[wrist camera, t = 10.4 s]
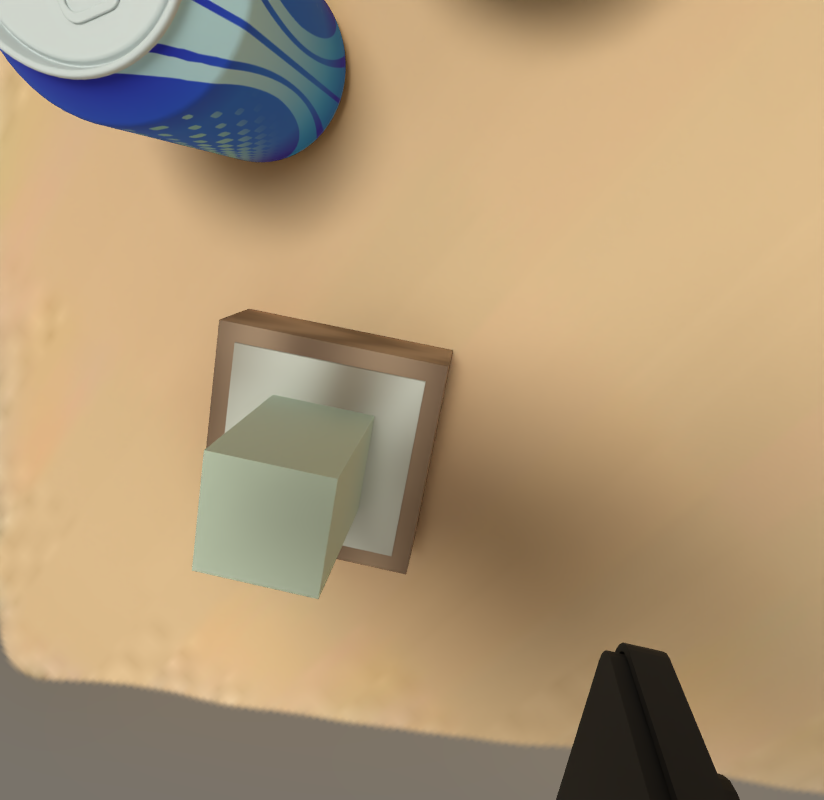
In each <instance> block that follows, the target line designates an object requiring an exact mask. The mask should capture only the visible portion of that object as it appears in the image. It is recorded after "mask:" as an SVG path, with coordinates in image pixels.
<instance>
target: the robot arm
mask: <svg viewBox="0 0 824 800" xmlns="http://www.w3.org/2000/svg"><path fill="white" fill-rule="evenodd" d="M556 800H740V799H739V797H738V794H737V792H736V790H735V789H734V787H733V785H732V784H731V782H730V780H728V779H727V778H726V777H725V776H723V775H721V774H717V772H716V769H715V767H714V765H713V762H712V760H711V757H710V755H709V753H708V750H707V748H706V745H705V743H704V740H703V738H702V736H701V733H700V731H699V728H698V726H697V724H696V721H695V719H694V716H693V714H692V711H691V709H690V707H689V704H688V702H687V699H686V697H685V695H684V692H683V690H682V687H681V685H680V682H679V680H678V678H677V675H676V673H675V670H674V668H673V666H672V663H671V661H670V658H669V657H668V655H667V653H665V652H662V651H658V650H653V649H649V648H644V647H640V646H636V645H631V644H627V643H621V644H620V645H619V646H618V647H617V649H616V651H615V652H611V651H607V650H606V651H604V652H603V653H602V655H601V657H600V660H599V663H598V666H597V669H596V672H595V676H594V679H593V682H592V685H591V689H590V692H589V695H588V698H587V702H586V705H585V708H584V711H583V714H582V718H581V721H580V724H579V727H578V731H577V734H576V737H575V740H574V744H573V747H572V750H571V754H570V756H569V760H568V763H567V766H566V769H565V773H564V776H563V779H562V782H561V786H560V789H559V792H558V795H557V798H556Z"/></svg>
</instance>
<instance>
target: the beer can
mask: <svg viewBox="0 0 824 800" xmlns="http://www.w3.org/2000/svg"><path fill="white" fill-rule="evenodd" d="M0 50H1V51H2V53H3V54H4V56H5V57H6V59H7V60H8V62H9V63H10V64H11V65H12V66H13V68H14V69H15V70H16V71H17V73H18V74H19V75H20V76H21V77H22V78H23V79H24V80H25V81H26V82H27V83H28V84H29V85H30V86H31V87H32V88H33V89H35V90H36V91H37V92H38V93H39V94H40V95H41V96H43V97H44V98H46V99H47V100H48V101H50V102H51V103H52V104H54V105H56V106H57V107H59V108H61V109H62V110H64V111H66V112H68V113H70V114H72V115H75V116H77V117H79V118H81V119H84V120H86V121H89V122H92V123H95V124H99V125H103V126H107V127H111V128H115V129H119V130H123V131H128V132H132V133H136V134H140V135H144V136H148V137H152V138H156V139H160V140H164V141H168V142H172V143H176V144H180V145H184V146H188V147H192V148H196V149H200V150H204V151H208V152H212V153H216V154H220V155H224V156H228V157H232V158H236V159H240V160H244V161H251V162H272V161H277V160H281V159H284V158H287V157H290V156H292V155H294V154H297V153H298V152H300V151H302V150H304V149H305V148H306V147H308V146H309V145H311V144H312V143H313V142H314V141H315V140H316V139H317V138H318V137H319V136H320V135H321V134H322V133H323V132H324V130H325V129H326V128H327V126H328V125H329V123H330V122H331V120H332V118H333V117H334V114H335V112H336V110H337V108H338V105H339V103H340V100H341V96H342V93H343V88H344V83H345V73H346V61H345V50H344V45H343V40H342V36H341V32H340V30H339V27H338V24H337V22H336V19H335V17H334V15H333V13H332V11H331V10H330V8H329V6H328V5H327V3H326V2H325V1H324V0H0Z"/></svg>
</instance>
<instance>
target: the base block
mask: <svg viewBox="0 0 824 800" xmlns="http://www.w3.org/2000/svg"><path fill="white" fill-rule="evenodd" d="M452 352H453V350H449V349H444V348H439V347H434V346H429V345H424V344H419V343H414V342H409V341H404V340H399V339H395V338H390V337H385V336H380V335H375V334H370V333H365V332H360V331H355V330H350V329H345V328H340V327H335V326H331V325H326V324H321V323H316V322H311V321H306V320H301V319H296V318H291V317H286V316H281V315H276V314H271V313H266V312H262V311H257V310H252V309H247V310H245V311H242V312H239V313H236V314H234V315H231V316H228V317H226V318H223V319H220V320H219V328H218V338H217V348H216V358H215V368H214V377H213V387H212V397H211V407H210V417H209V426H208V436H207V446H206V448H207V447H209V446H210V445H211V444H212V443H214V442H215V441H216V440H217V439H218V438H220V437H221V436H222V435H223V434H225V433H226V432H227V431H228V430H230V429H231V428H232V427H233V426H235V425H236V424H237V423H238V422H240V421H241V420H242V419H243V418H244V417H246V416H247V415H248V414H249V413H251V412H252V411H253V410H254V409H256V408H257V407H258V406H259V405H261V404H262V403H263V402H264V401H266V400H267V399H268V398H269V397H270V396H272V395H277V396H282V397H287V398H292V399H297V400H301V401H306V402H311V403H316V404H320V405H325V406H330V407H335V408H340V409H344V410H349V411H354V412H359V413H363V414H368V415H373V416H375V417H374V422H373V428H372V434H371V440H370V445H369V451H368V457H367V463H366V468H365V474H364V480H363V485H362V491H361V497H360V503H359V508H358V512H357V514H356V516H355V519H354V521H353V523H352V525H351V527H350V530H349V532H348V534H347V536H346V539H345V541H344V543H343V545H342V548H341V550H340V552H339V554H338V556H337V559H340V560H344V561H349V562H353V563H358V564H362V565H367V566H371V567H375V568H380V569H384V570H389V571H393V572H398V573H402V574H406V572H407V568H408V564H409V560H410V555H411V551H412V547H413V542H414V538H415V533H416V528H417V523H418V518H419V514H420V509H421V504H422V499H423V494H424V489H425V484H426V479H427V474H428V470H429V465H430V460H431V455H432V450H433V445H434V440H435V435H436V430H437V426H438V421H439V416H440V411H441V406H442V401H443V396H444V391H445V386H446V382H447V377H448V372H449V367H450V362H451V357H452Z"/></svg>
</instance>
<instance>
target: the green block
mask: <svg viewBox="0 0 824 800" xmlns="http://www.w3.org/2000/svg"><path fill="white" fill-rule="evenodd" d="M374 417H375V416H373V415H368V414H363V413H359V412H354V411H349V410H344V409H340V408H335V407H330V406H325V405H320V404H316V403H311V402H306V401H301V400H297V399H292V398H287V397H282V396H277V395H272V396H270V397H269V398H268V399H267V400H266V401H264V402H263V403H262V404H261V405H259V406H258V407H257V408H256V409H254V410H253V411H252V412H251V413H249V414H248V415H247V416H246V417H244V418H243V419H242V420H241V421H240V422H238V423H237V424H236V425H235V426H233V427H232V428H231V429H230V430H228V431H227V432H226V433H225V434H223V435H222V436H221V437H220V438H218V439H217V440H216V441H215V442H214V443H212V444H211V445H210V446H209V447H207V448H206V449H205V450H204V456H203V466H202V476H201V486H200V496H199V506H198V516H197V526H196V536H195V546H194V556H193V566H192V571H197V572H201V573H206V574H210V575H214V576H219V577H223V578H228V579H232V580H236V581H241V582H245V583H250V584H254V585H258V586H263V587H267V588H272V589H276V590H281V591H285V592H289V593H294V594H298V595H303V596H307V597H311V598H316V599H319V597H320V594H321V592H322V590H323V588H324V585H325V583H326V581H327V579H328V576H329V574H330V572H331V570H332V568H333V565H334V563H335V561H336V559H337V556H338V554H339V552H340V550H341V548H342V545H343V543H344V541H345V539H346V536H347V534H348V532H349V530H350V527H351V525H352V523H353V521H354V519H355V516H356V514H357V512H358V508H359V503H360V497H361V491H362V485H363V480H364V474H365V468H366V463H367V457H368V451H369V445H370V440H371V434H372V428H373V422H374Z"/></svg>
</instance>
